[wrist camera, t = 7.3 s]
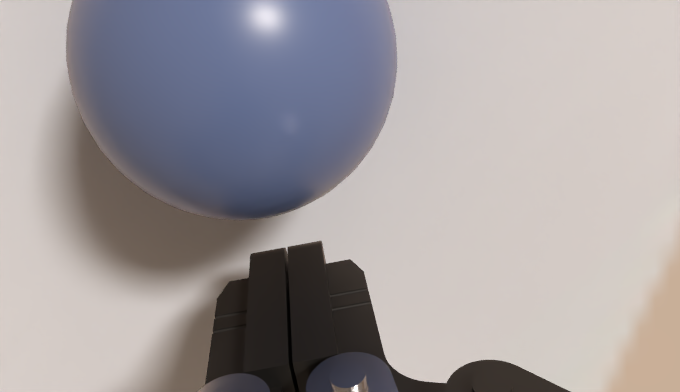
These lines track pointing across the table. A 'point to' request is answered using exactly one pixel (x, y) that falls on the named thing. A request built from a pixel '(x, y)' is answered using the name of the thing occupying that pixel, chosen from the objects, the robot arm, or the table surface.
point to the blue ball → (233, 96)
